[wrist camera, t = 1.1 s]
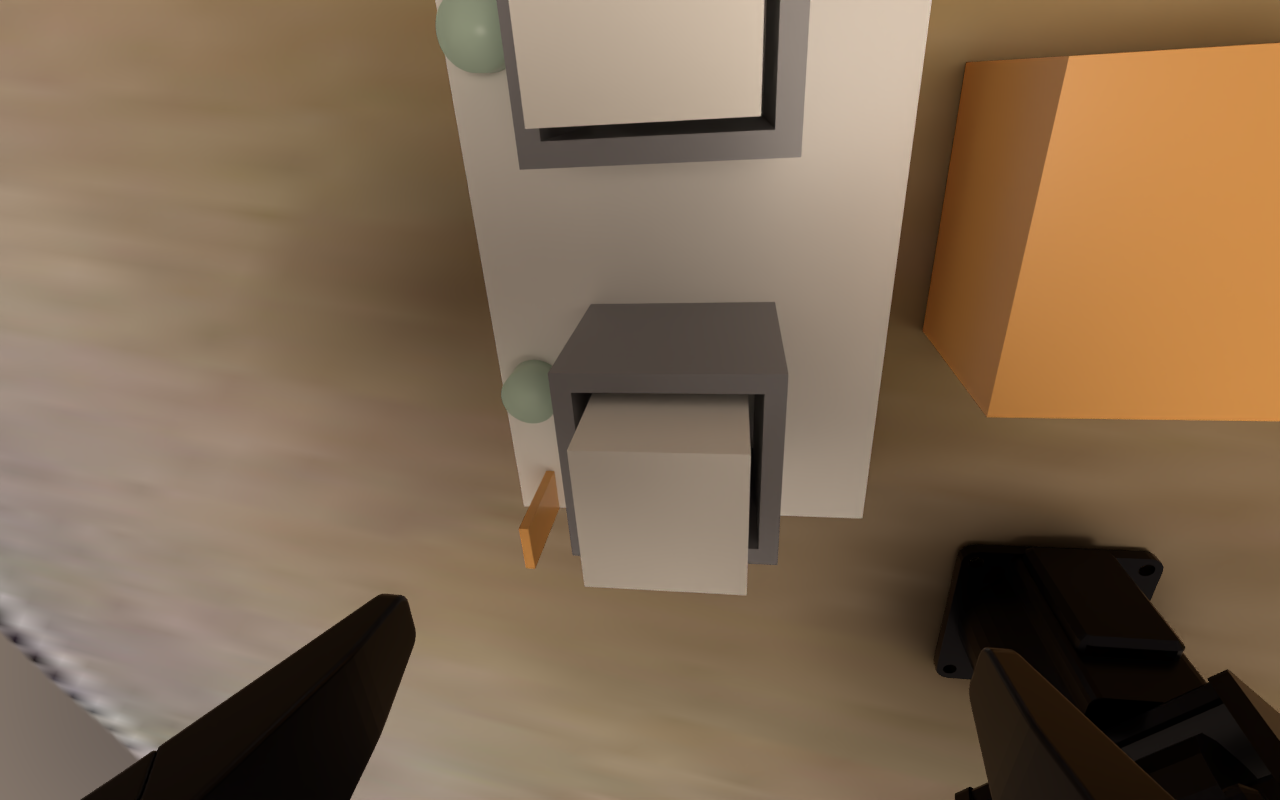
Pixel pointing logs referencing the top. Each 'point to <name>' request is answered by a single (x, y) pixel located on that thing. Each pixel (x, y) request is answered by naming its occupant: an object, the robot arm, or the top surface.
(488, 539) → the top surface
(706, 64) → the block
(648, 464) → the block
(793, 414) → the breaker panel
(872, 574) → the top surface
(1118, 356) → the cap
